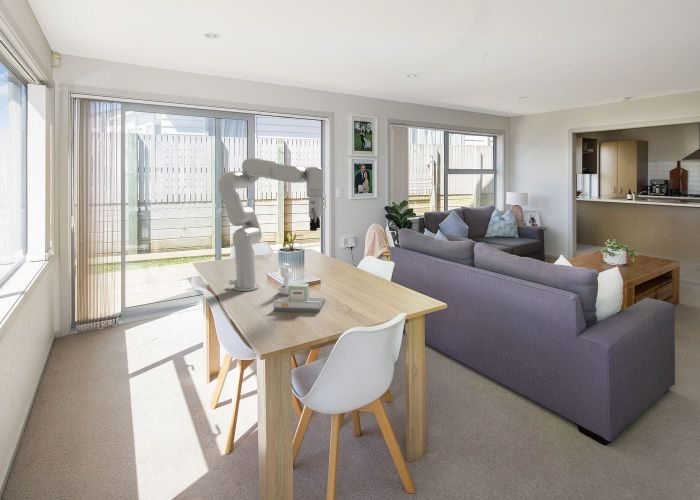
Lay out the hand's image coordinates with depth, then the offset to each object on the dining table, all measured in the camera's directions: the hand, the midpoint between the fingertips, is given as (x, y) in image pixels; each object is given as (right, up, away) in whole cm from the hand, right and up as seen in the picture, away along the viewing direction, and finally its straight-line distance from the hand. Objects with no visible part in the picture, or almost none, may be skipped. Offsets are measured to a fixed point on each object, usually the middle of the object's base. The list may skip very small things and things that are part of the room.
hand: (315, 229), depth 200 cm
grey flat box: (-6, -35, -13) cm, 38 cm away
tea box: (-6, -34, -16) cm, 38 cm away
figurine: (-15, -32, +8) cm, 36 cm away
